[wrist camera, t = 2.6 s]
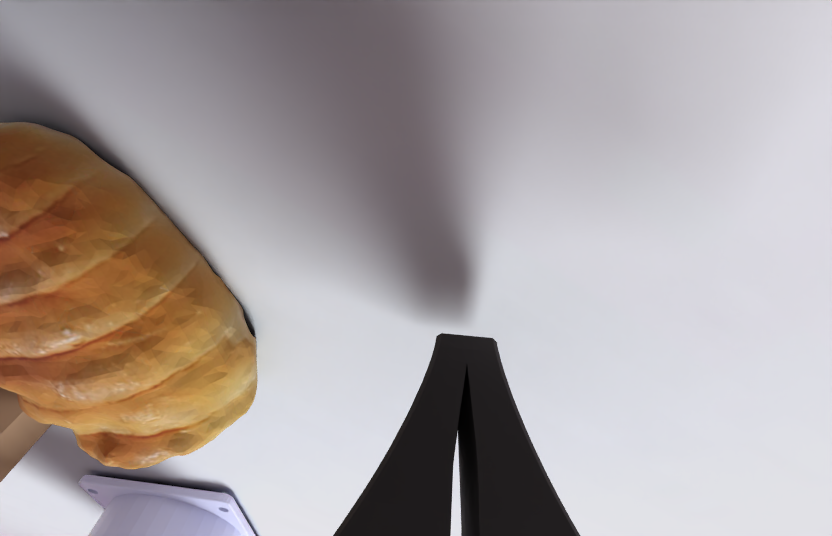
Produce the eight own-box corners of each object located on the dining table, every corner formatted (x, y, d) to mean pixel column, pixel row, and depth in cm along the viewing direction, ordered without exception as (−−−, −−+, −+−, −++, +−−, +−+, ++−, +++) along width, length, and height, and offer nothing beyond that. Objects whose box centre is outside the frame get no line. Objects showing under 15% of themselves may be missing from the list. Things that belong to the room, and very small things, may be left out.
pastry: (-96, 129, 10) (-337, 209, 7) (145, 90, 9) (-25, 165, 6) (128, 375, 16) (46, 478, 13) (294, 372, 14) (247, 485, 11)
